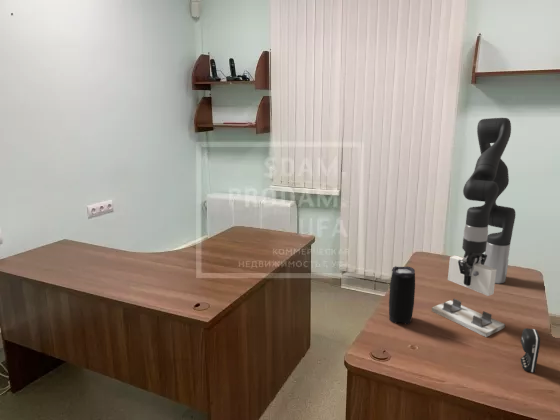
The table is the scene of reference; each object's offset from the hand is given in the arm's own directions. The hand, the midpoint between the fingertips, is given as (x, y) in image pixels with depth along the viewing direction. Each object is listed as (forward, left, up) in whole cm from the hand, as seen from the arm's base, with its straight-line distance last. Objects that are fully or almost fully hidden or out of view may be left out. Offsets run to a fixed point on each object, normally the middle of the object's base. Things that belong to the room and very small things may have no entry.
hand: (469, 283), depth 153 cm
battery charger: (+10, +27, -14) cm, 32 cm away
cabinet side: (0, 0, -14) cm, 14 cm away
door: (0, 0, -1) cm, 1 cm away
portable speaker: (+20, -13, -14) cm, 28 cm away
